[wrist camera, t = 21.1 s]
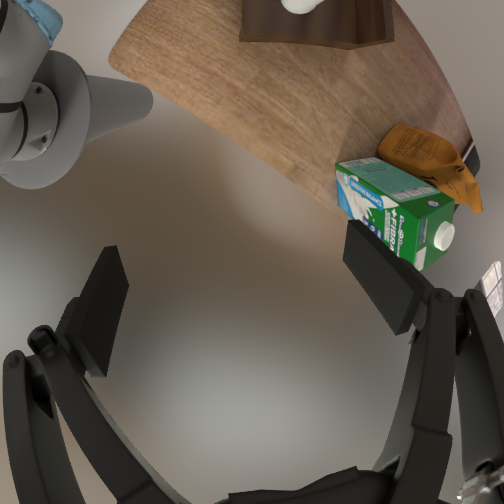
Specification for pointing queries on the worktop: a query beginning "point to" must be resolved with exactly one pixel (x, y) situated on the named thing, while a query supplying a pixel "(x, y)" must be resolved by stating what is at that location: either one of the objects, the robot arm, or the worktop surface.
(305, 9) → the bottle
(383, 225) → the milk carton
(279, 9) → the shelf
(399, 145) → the coffee package
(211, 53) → the worktop surface
